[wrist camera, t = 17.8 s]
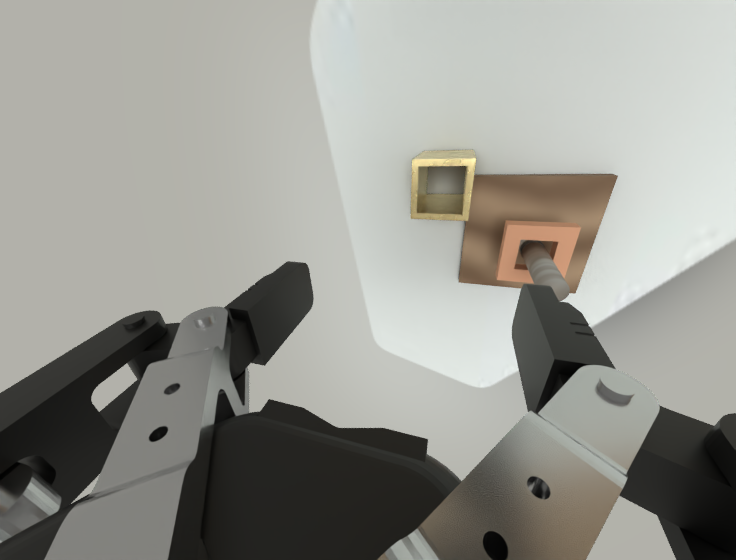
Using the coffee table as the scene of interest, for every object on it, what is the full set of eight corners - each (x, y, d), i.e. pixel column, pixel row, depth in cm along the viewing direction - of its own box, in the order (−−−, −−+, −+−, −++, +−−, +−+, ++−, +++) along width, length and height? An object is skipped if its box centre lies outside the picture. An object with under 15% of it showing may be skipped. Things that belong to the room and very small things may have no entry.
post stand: (471, 174, 33) (475, 203, 22) (612, 174, 29) (709, 208, 18) (458, 278, 40) (456, 342, 28) (572, 288, 36) (623, 368, 24)
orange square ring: (505, 220, 30) (507, 224, 28) (575, 222, 28) (581, 227, 27) (495, 273, 33) (496, 280, 31) (558, 279, 31) (561, 285, 30)
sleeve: (424, 150, 34) (412, 159, 26) (473, 149, 32) (476, 158, 24) (421, 198, 36) (410, 218, 29) (467, 199, 35) (468, 221, 27)
